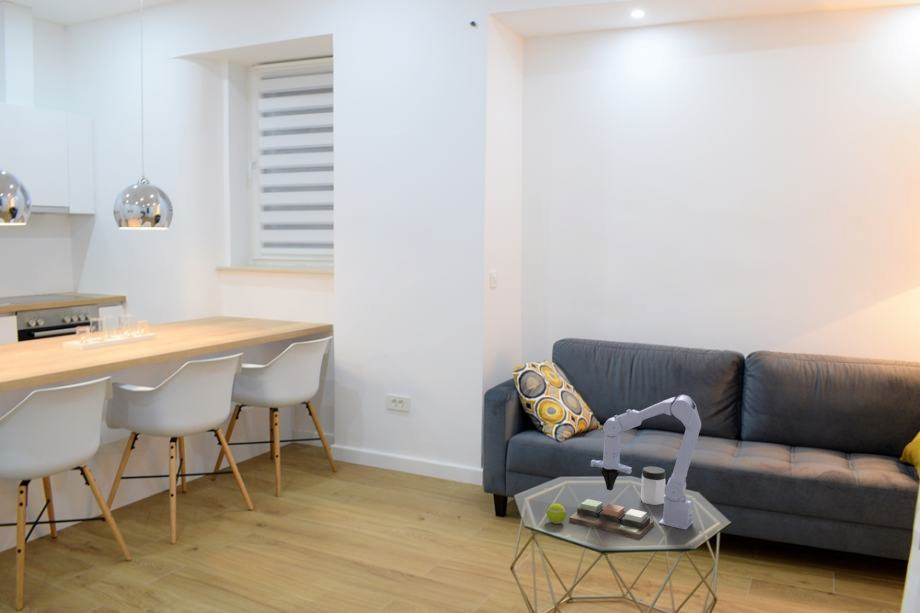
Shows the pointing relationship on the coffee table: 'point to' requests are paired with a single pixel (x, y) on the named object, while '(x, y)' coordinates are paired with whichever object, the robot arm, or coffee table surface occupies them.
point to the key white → (636, 515)
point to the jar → (653, 485)
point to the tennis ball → (556, 513)
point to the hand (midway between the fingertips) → (609, 489)
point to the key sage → (591, 505)
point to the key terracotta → (613, 510)
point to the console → (611, 522)
